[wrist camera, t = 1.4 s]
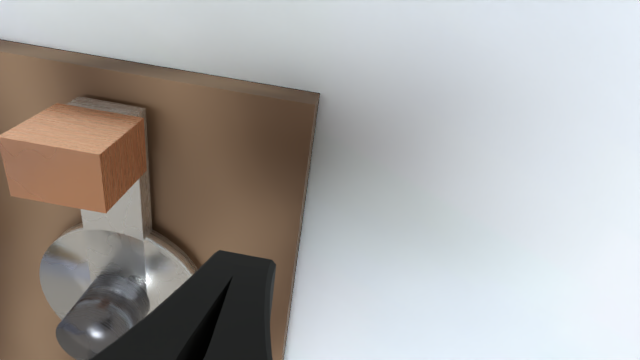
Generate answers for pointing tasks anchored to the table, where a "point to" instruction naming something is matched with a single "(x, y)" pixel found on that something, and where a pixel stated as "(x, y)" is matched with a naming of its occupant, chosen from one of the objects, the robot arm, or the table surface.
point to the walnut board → (162, 176)
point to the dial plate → (95, 219)
